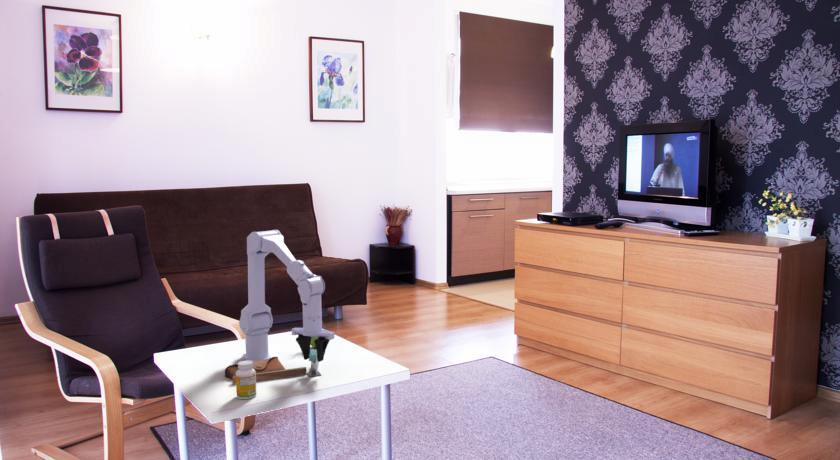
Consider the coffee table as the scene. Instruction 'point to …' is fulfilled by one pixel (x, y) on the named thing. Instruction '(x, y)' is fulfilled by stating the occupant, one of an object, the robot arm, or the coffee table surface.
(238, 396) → the supplement bottle
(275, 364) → the sunglasses case
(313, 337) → the snail figurine
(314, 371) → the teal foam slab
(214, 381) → the coffee table surface
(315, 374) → the lock plate
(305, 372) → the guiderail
